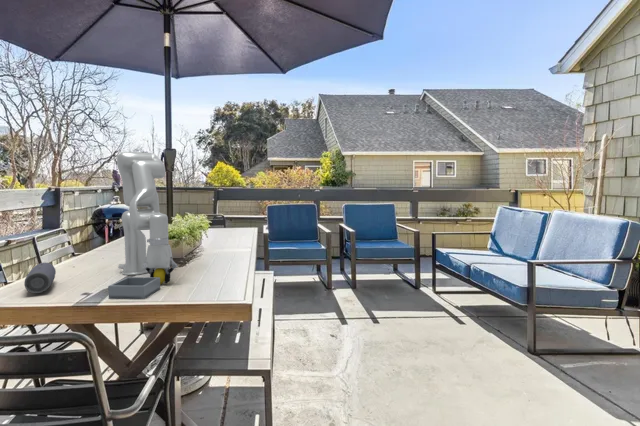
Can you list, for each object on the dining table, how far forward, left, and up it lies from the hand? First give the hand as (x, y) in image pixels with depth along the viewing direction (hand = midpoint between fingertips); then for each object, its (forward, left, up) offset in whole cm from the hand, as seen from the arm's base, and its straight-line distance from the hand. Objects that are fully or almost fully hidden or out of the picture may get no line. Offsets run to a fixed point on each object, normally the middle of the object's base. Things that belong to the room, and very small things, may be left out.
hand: (160, 282), depth 167 cm
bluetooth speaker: (-47, -9, -1) cm, 48 cm away
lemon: (0, 0, -1) cm, 1 cm away
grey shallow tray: (-4, -14, -1) cm, 15 cm away
